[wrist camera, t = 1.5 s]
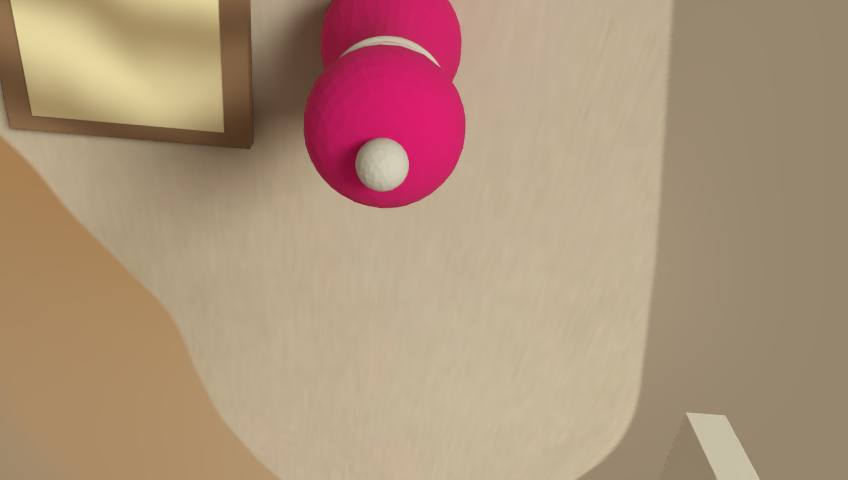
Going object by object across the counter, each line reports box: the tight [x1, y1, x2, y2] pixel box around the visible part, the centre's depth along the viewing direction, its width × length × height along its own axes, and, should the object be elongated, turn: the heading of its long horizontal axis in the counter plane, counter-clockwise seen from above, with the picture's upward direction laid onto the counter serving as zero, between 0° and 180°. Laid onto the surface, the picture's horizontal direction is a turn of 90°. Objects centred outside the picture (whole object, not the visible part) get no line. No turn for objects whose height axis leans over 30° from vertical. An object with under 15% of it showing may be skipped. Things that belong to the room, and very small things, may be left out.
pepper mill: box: [304, 0, 465, 208], centre depth 31 cm, size 7×7×20 cm
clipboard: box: [0, 0, 253, 149], centre depth 38 cm, size 16×14×2 cm
